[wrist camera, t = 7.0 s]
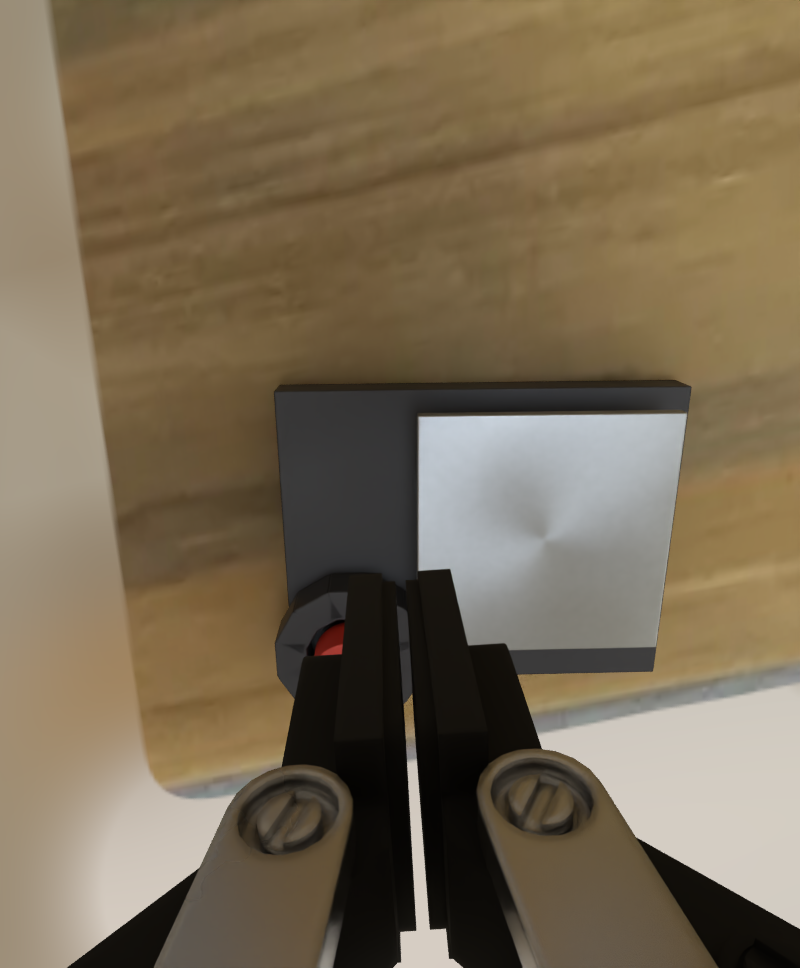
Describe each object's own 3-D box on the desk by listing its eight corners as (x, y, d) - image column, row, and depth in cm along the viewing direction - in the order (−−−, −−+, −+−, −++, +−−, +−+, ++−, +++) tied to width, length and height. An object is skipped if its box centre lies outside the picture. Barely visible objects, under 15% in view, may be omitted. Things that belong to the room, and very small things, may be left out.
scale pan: (416, 645, 25) (416, 652, 24) (416, 412, 22) (417, 415, 21) (650, 640, 25) (656, 647, 24) (681, 409, 22) (688, 412, 22)
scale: (291, 677, 28) (280, 722, 26) (270, 384, 24) (255, 400, 22) (638, 669, 29) (666, 713, 26) (675, 379, 25) (713, 394, 22)
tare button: (317, 685, 26) (312, 710, 24) (313, 622, 25) (309, 644, 23) (388, 683, 26) (388, 708, 24) (387, 620, 25) (387, 643, 23)
